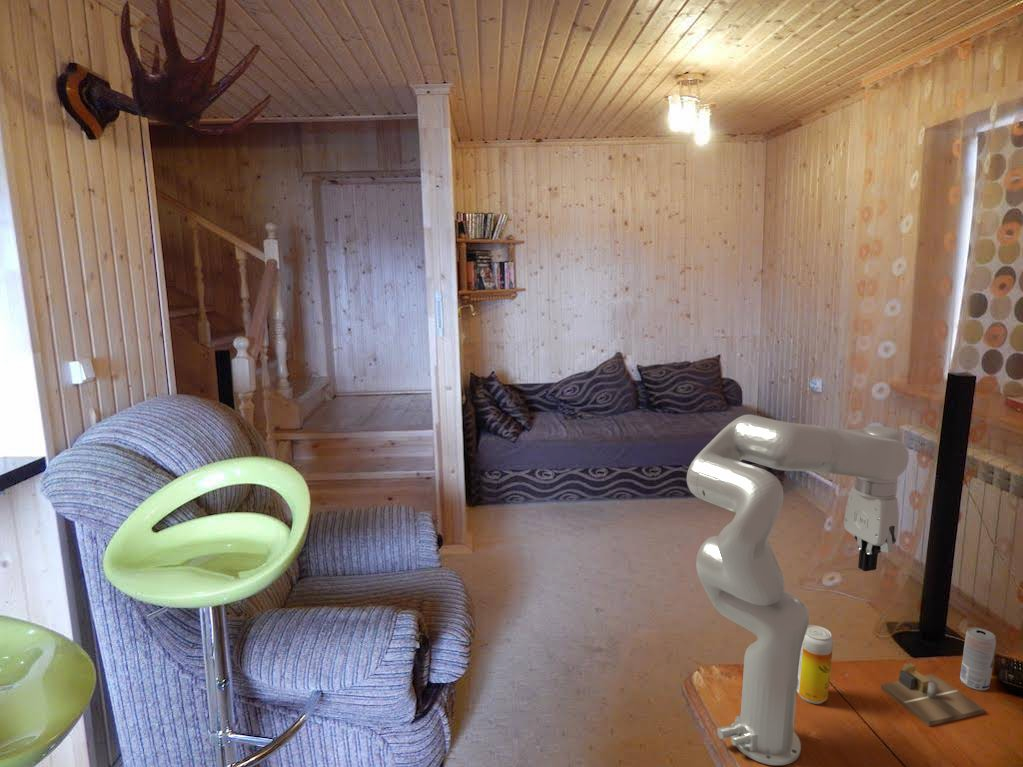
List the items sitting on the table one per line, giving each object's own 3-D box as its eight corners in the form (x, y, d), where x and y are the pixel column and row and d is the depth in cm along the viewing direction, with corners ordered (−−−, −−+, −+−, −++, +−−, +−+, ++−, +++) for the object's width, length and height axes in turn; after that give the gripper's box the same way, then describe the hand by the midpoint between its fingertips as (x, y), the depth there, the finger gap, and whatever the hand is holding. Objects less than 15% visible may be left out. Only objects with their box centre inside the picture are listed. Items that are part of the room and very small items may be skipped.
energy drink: (988, 681, 145) (995, 631, 143) (990, 694, 140) (997, 643, 138) (959, 673, 148) (965, 624, 145) (959, 686, 143) (966, 635, 141)
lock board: (928, 726, 131) (931, 708, 130) (881, 688, 142) (882, 672, 142) (983, 713, 135) (986, 695, 134) (932, 677, 146) (934, 661, 145)
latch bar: (929, 690, 140) (931, 676, 139) (922, 692, 139) (923, 678, 139) (909, 676, 145) (910, 662, 144) (901, 678, 144) (903, 664, 143)
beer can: (830, 707, 137) (837, 641, 134) (799, 703, 138) (805, 638, 135) (823, 688, 143) (829, 625, 140) (793, 685, 144) (798, 622, 141)
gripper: (833, 476, 142) (826, 555, 145) (889, 501, 128) (880, 588, 131) (862, 473, 144) (855, 551, 147) (921, 497, 130) (910, 583, 133)
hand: (867, 568), depth 139 cm, fingers closed
